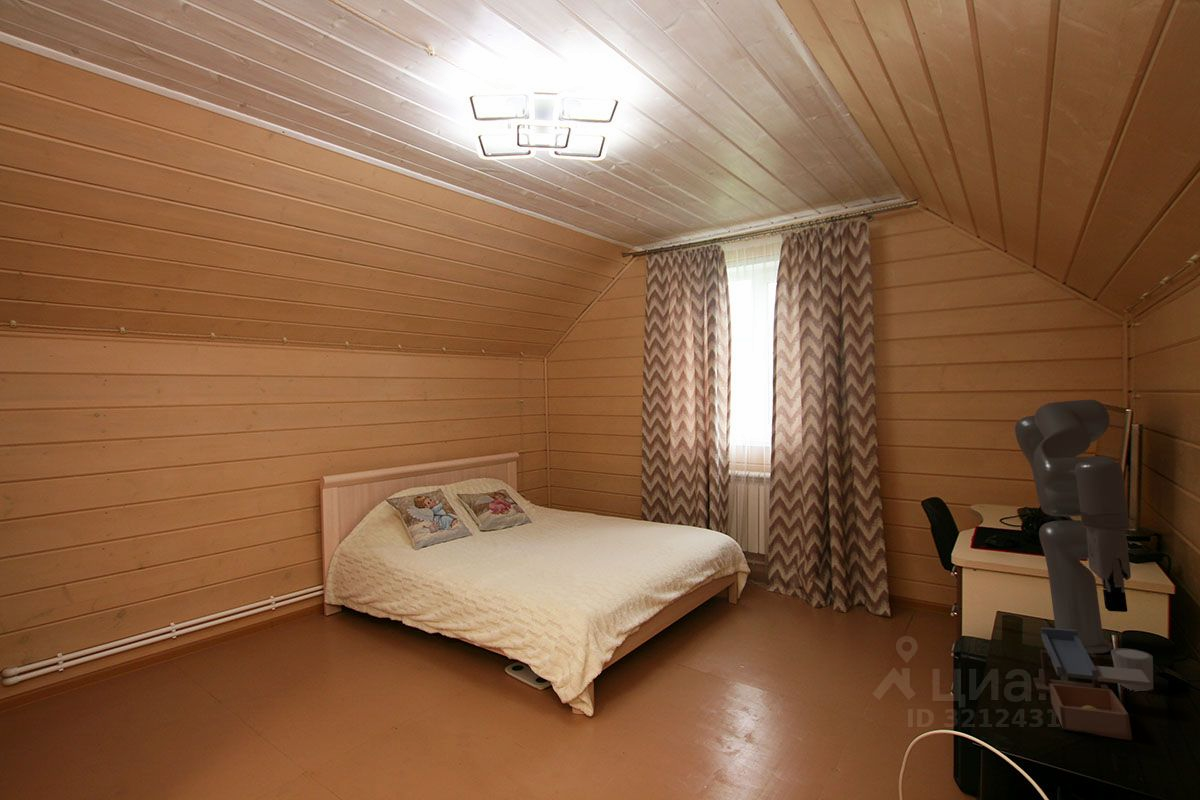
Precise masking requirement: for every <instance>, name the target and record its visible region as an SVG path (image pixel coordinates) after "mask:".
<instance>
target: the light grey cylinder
mask: <svg viewBox="0 0 1200 800" xmlns="http://www.w3.org/2000/svg"><path fill="white" fill-rule="evenodd" d="M1110 653H1111V658H1112V661H1113V662H1112V663H1113V667H1115V668H1127V669H1138V670H1142V671H1143V673H1144V674H1145V676H1146V677H1147V678H1148V680H1149V681H1150V685H1151V686H1142V685H1132V684H1122V683H1118V685H1119V684H1120V685H1122V686H1123V687H1125V688H1127V689H1126V690H1128V689H1129V691H1132V690H1134V691H1133V692H1137V691H1148V690H1151V689H1153V690H1154V656H1153V655H1152V654H1150V653H1148V652H1146V651H1142V650H1139V649H1134V648H1123V647H1121V648H1114V649H1113V648H1112V650H1111V651H1110ZM1120 685H1119V686H1120ZM1123 687H1122V688H1123ZM1125 688H1124V689H1125Z"/></svg>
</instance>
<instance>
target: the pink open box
mask: <svg viewBox="0 0 1200 800" xmlns="http://www.w3.org/2000/svg"><path fill="white" fill-rule="evenodd" d="M1049 689H1050V694H1049V695H1050V704H1052V705H1051V707H1052V706H1053V707H1052V710H1053V709H1054V710H1053V712H1054V711H1055V712H1054V714H1055V713H1056V714H1055V716H1056V715H1057V716H1056V718H1057V717H1058V719H1059V721H1058V723H1059V722H1060V723H1059V725H1060V724H1061V726H1062V728H1063V729H1068V730H1074V731H1084V732H1088V733H1091V734H1095V735H1094V736H1096V735H1098V736H1097V737H1103V736H1105V737H1104V738H1111V739H1112V738H1113V739H1120V740H1127V741H1133V734H1132V728H1131V722H1130V721H1131V719H1130V714H1129V713H1128V712H1127V710H1126V709H1125V707H1124V705H1123V704H1122V703H1121V701H1120V700H1119V698H1118V697H1117V696H1116V694H1115V693H1114V691H1113V690H1112V689H1111V688H1109V689H1100V688H1090V687H1080V686H1071V685H1061V684H1051V683H1049ZM1086 705H1090V706H1093V707H1095V708H1096V709H1098V710H1092V709H1083V708H1082V707H1083V706H1086ZM1058 719H1057V720H1058ZM1061 726H1060V727H1061ZM1062 728H1061V729H1062Z"/></svg>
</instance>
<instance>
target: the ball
mask: <svg viewBox="0 0 1200 800" xmlns="http://www.w3.org/2000/svg"><path fill="white" fill-rule="evenodd" d="M1082 708H1083V709H1092V710H1098V709H1096V708H1095V707H1093V706H1090V705H1086V706H1083V707H1082Z"/></svg>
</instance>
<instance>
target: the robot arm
mask: <svg viewBox="0 0 1200 800" xmlns="http://www.w3.org/2000/svg"><path fill="white" fill-rule="evenodd" d="M1109 426H1110V415H1109V411H1108V409H1107V408H1106V406H1105V405H1104V404H1103V403H1101V402H1100V401H1098V400H1095V399H1078V400H1068V401H1067V400H1066V401H1065V400H1064V401H1055V402H1049V403H1045V404H1043V405H1041V406H1040V407H1038V409H1036V411H1035V413H1034V414H1033V415H1029V416H1028V415H1027V416H1025V417H1022V418H1019V419H1018V420H1017V421H1016V422H1015V425H1014V433H1015V437H1016V438H1015V439H1016V440H1017V444H1018V445H1019V448H1020V450H1021V452H1022V454H1023V455H1024V457H1025V459H1027V461H1028V463H1029V465H1030V467H1031V471H1032V476H1033V481H1034V486H1035V490H1036V495H1037V499H1038V503H1039V507H1040V508H1041V511H1042V512H1043V513H1044V514H1046V515H1047V516H1048V515H1049V516H1053V517H1080V519H1081V520H1080V519H1077V520H1074V519H1073V520H1071V519H1070V520H1053V521H1049V522H1045V523H1043V524H1042V525H1041V526H1040V528H1039V531H1038V536H1039V542H1040V545H1041V547H1042V550H1043V555H1044V558H1045V562H1046V566H1047V567H1046V568H1047V573H1048V580H1049V581H1048V582H1049V588H1050V590H1049V591H1050V597H1051V604H1052V612H1053V621H1054V628H1057V629H1072V630H1077V634H1078V637H1079V639H1080V641H1081V643H1082V644H1083V646H1084V648H1085V650H1086V652H1087V653H1088V654H1089V653H1094V654H1105V653H1106V654H1107V653H1108V652H1111V650H1113V644H1112V642H1111V641H1109V640H1108V639H1106V638H1104V633H1103V627H1102V626H1103V624H1102V617H1101V611H1100V602H1099V596H1098V588H1097V582H1096V580H1097V579H1096V577H1095V576H1097V577H1098V578H1099V579H1100V580H1101V583H1102V593H1103V600H1104V608H1105V609H1106V610H1107V611H1108V612H1118V613H1127V612H1128V604H1127V596H1126V591H1125V590H1126V589H1125V580H1126V581H1129V580H1130V579H1131V575H1132V574H1131V564H1130V556H1129V551H1128V550H1129V543H1128V538H1127V535H1126V530H1127V531H1128V530H1130V528H1131V526H1130V519H1129V518H1130V517H1129V510H1128V501H1127V497H1126V496H1127V495H1126V488H1125V482H1124V473H1123V467H1122V465H1121V464H1120V463H1119V462H1117V461H1116V460H1115V459H1114V458H1112V457H1109V456H1106V455H1105V456H1104V455H1098V456H1097V455H1095V456H1080V455H1083V453H1086V451H1088V449H1089V448H1090V446H1091V444H1092V443H1094V442H1096V441H1097V440H1098V439H1099V438H1101V437H1102V436H1103V435H1104V433H1106V431H1108V429H1109ZM1087 559H1088V565H1089V568H1088V567H1087V566H1085V564H1083V563H1082V561H1080V560H1087Z"/></svg>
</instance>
